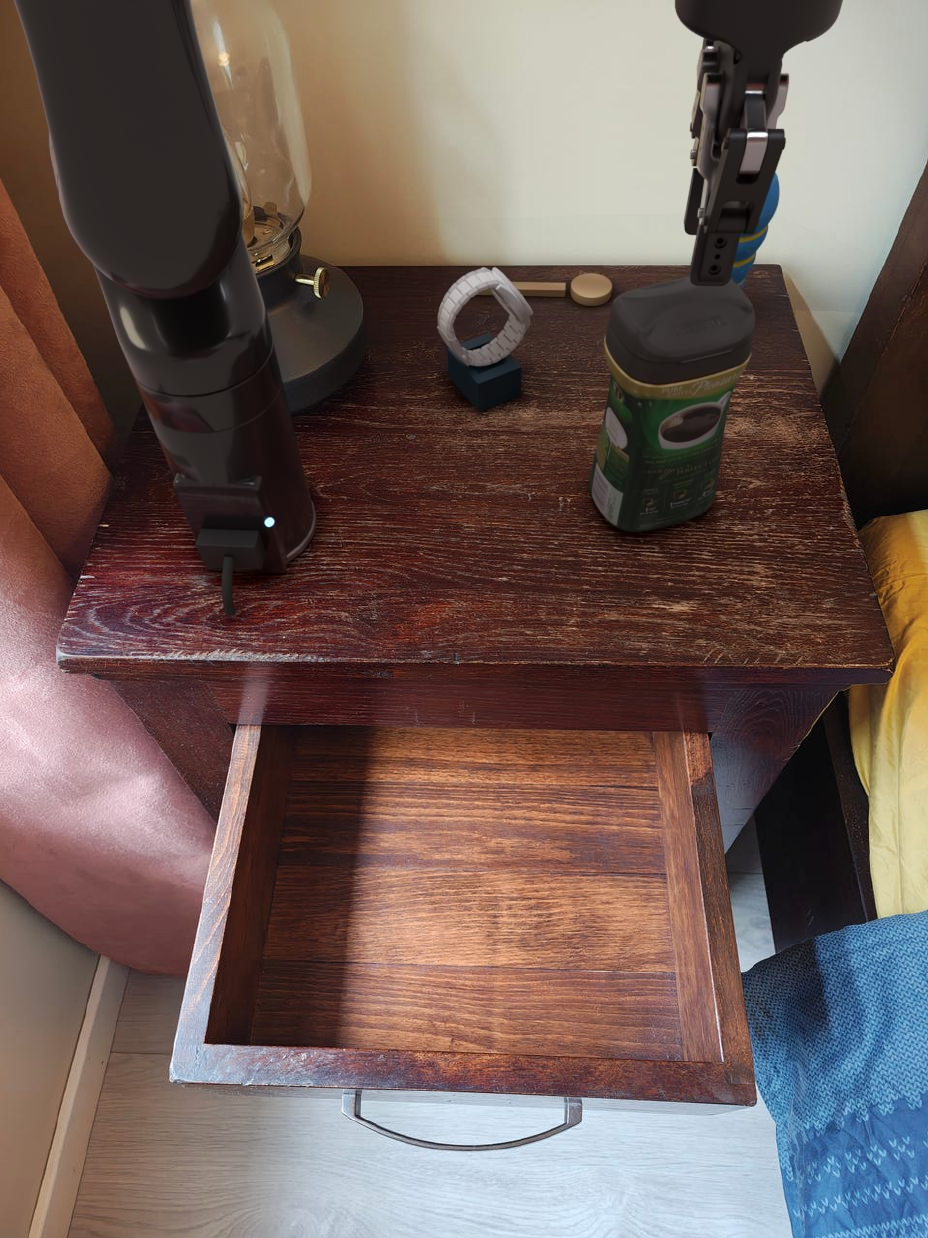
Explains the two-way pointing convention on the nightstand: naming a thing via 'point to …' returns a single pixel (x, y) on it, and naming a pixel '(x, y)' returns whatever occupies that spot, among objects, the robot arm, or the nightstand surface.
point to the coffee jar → (668, 400)
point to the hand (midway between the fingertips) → (705, 255)
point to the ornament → (755, 237)
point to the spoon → (583, 289)
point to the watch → (485, 341)
